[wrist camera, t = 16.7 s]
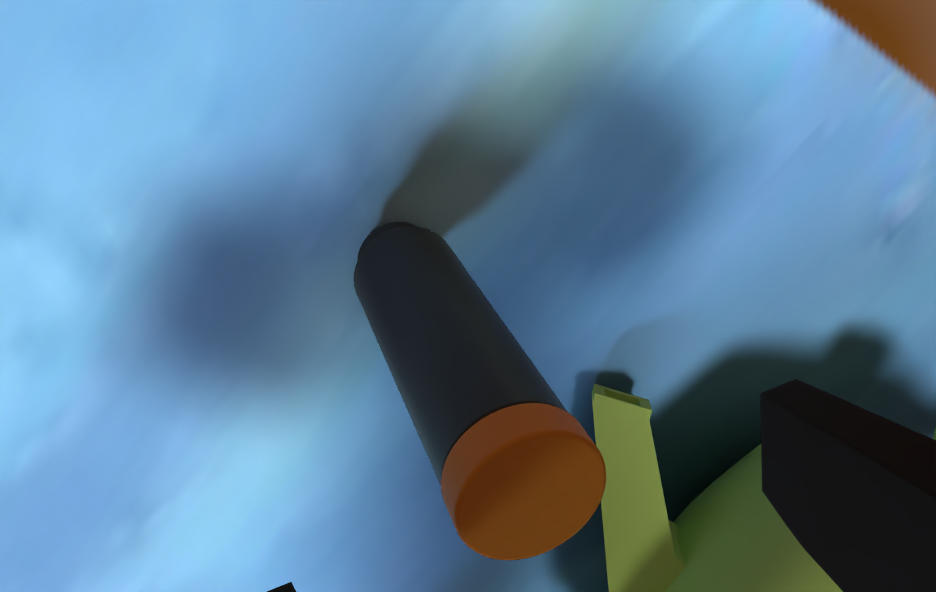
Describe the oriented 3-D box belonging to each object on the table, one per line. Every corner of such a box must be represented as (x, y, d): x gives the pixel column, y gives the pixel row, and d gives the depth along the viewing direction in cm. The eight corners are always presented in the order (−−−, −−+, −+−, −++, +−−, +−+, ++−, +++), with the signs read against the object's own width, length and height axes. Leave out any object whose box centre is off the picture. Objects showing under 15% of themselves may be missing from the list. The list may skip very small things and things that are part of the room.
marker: (448, 272, 20) (616, 525, 13) (354, 305, 20) (473, 585, 13) (425, 185, 19) (599, 409, 12) (325, 218, 19) (438, 472, 11)
